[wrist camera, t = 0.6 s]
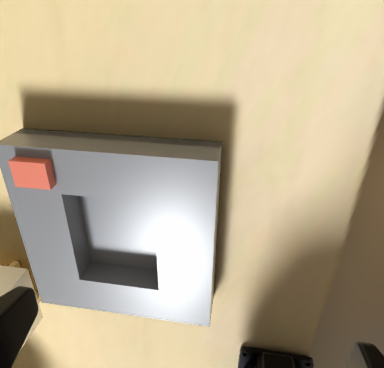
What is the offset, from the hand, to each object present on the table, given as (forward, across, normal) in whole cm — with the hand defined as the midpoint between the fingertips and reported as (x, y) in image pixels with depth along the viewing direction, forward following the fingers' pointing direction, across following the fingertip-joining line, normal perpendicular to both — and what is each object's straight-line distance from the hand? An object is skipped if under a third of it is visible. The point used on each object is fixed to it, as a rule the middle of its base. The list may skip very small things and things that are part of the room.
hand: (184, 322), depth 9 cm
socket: (+14, +7, +7) cm, 17 cm away
